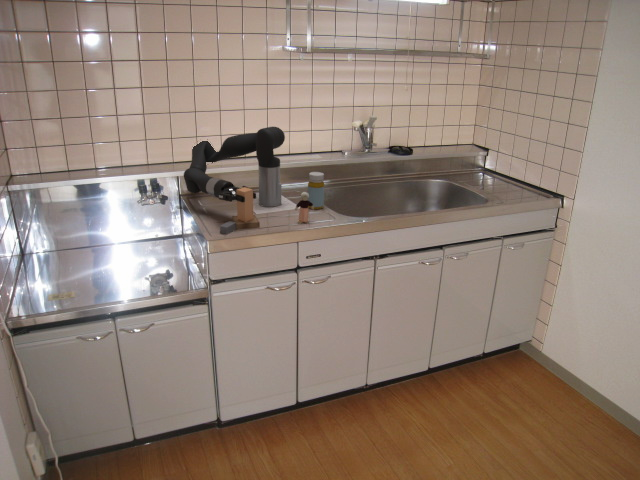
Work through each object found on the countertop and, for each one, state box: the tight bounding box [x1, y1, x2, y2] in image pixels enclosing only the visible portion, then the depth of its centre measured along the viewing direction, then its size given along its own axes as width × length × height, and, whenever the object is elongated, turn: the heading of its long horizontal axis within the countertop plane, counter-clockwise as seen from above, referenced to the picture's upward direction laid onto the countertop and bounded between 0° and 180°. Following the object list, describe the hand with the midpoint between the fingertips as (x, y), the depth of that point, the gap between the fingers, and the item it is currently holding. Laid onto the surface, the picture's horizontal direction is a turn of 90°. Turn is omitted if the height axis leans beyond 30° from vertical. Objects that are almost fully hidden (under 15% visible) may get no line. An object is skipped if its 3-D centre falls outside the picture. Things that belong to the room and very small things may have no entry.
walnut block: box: [231, 213, 260, 231], centre depth 204 cm, size 9×9×3 cm
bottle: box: [307, 171, 325, 211], centre depth 223 cm, size 7×7×15 cm
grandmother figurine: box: [294, 191, 315, 225], centre depth 206 cm, size 8×4×13 cm, turn 114°
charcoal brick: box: [219, 220, 236, 235], centre depth 196 cm, size 3×6×3 cm, turn 154°
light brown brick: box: [236, 186, 254, 222], centre depth 201 cm, size 4×4×12 cm
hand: (249, 197), depth 198 cm, fingers open, 5 cm apart
